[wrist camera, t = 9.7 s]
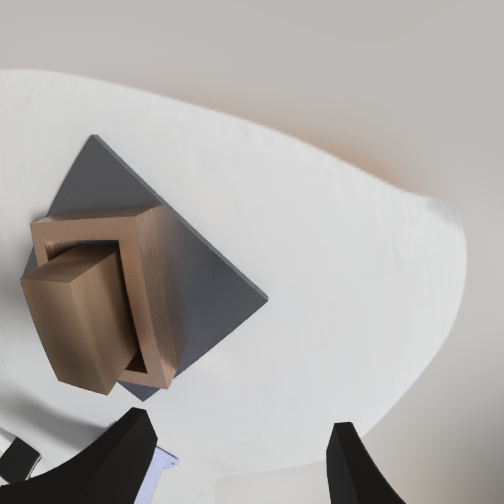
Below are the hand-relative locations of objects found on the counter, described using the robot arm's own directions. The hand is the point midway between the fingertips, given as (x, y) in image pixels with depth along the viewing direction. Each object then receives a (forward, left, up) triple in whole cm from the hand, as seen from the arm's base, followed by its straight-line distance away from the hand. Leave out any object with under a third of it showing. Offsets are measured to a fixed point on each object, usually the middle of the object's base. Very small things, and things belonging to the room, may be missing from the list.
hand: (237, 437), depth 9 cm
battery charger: (-60, +6, -10) cm, 61 cm away
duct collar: (-6, +8, -9) cm, 14 cm away
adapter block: (-6, +8, -9) cm, 13 cm away
